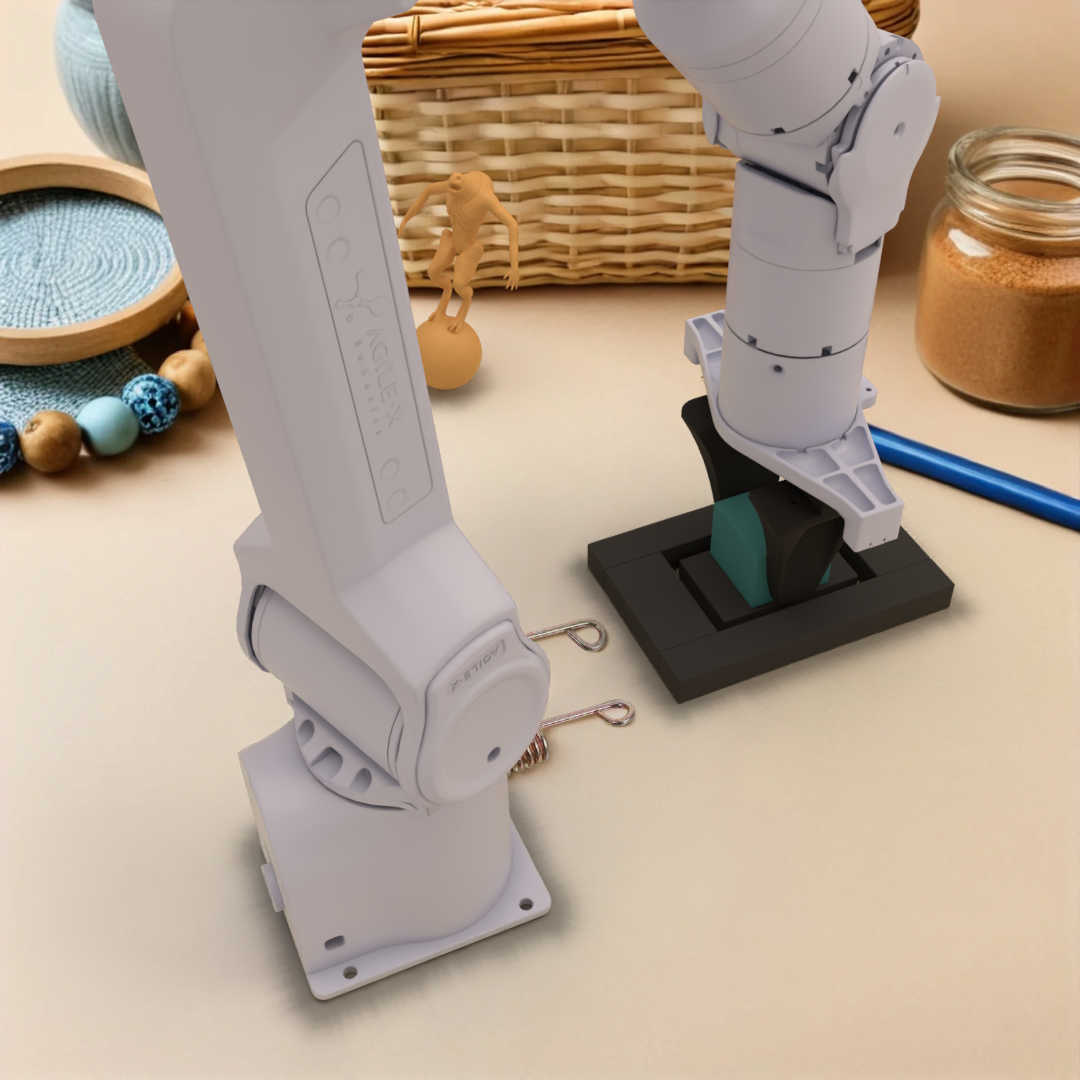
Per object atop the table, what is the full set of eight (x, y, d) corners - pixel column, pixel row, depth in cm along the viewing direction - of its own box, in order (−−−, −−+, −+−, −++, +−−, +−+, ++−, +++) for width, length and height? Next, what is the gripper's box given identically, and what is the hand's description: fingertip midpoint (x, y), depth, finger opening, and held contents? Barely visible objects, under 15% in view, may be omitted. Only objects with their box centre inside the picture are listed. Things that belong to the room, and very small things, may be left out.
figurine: (368, 370, 81) (343, 177, 72) (442, 321, 84) (426, 131, 76) (479, 429, 77) (466, 231, 68) (552, 375, 80) (548, 180, 72)
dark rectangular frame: (678, 704, 63) (679, 681, 62) (587, 566, 69) (586, 543, 68) (949, 607, 67) (955, 584, 66) (840, 484, 73) (843, 461, 72)
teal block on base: (722, 640, 65) (729, 571, 62) (677, 577, 68) (681, 508, 65) (856, 594, 67) (868, 524, 64) (806, 535, 70) (816, 466, 67)
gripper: (992, 391, 54) (932, 640, 63) (790, 207, 63) (765, 446, 73) (827, 443, 52) (791, 692, 61) (645, 244, 61) (638, 485, 71)
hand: (768, 561), depth 67 cm, fingers closed on teal block on base, 4 cm apart
